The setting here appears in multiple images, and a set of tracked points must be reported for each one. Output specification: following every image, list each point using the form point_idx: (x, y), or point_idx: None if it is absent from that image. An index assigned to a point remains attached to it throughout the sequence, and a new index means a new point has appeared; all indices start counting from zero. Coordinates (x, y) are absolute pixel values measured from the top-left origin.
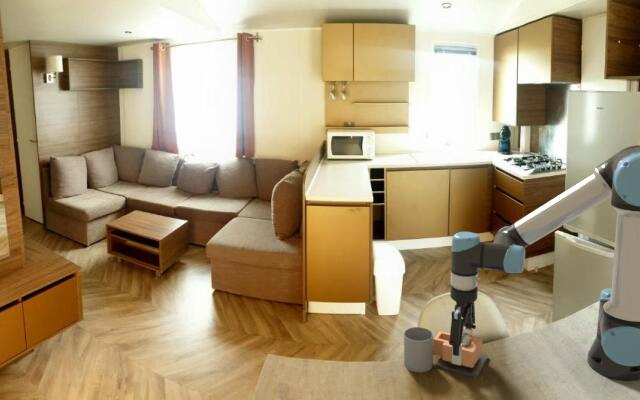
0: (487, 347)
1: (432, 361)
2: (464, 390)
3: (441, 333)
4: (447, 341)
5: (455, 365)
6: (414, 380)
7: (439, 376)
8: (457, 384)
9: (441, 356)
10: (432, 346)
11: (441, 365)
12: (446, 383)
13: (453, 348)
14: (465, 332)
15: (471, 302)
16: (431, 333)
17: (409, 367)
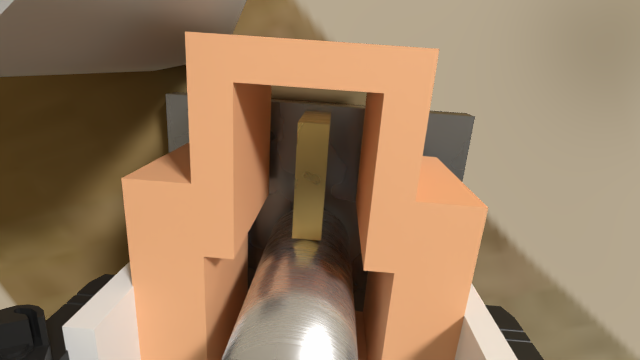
0: (549, 329)
1: (165, 65)
2: (48, 301)
3: (374, 92)
4: (215, 210)
5: None
6: None
7: (89, 147)
8: (76, 259)
9: (284, 104)
10: (58, 69)
11: (168, 138)
12: (47, 204)
13: (50, 323)
14: (463, 354)
15: None
16: (10, 12)
17: None
